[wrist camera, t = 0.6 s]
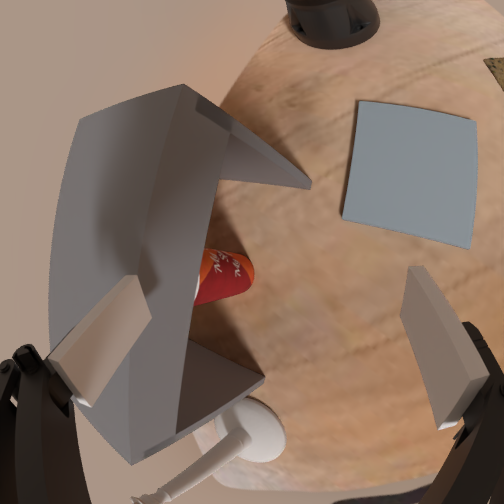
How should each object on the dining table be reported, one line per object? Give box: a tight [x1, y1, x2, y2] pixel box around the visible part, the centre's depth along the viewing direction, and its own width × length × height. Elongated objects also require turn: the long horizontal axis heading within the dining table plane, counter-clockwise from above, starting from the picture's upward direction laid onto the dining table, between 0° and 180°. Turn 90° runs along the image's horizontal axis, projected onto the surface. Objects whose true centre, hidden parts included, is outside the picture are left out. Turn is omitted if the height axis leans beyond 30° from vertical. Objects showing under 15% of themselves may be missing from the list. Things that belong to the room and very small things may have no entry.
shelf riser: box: [49, 84, 312, 465], centre depth 29 cm, size 28×16×24 cm, turn 166°
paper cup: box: [193, 248, 254, 306], centre depth 33 cm, size 8×8×14 cm
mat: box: [342, 101, 478, 249], centre depth 27 cm, size 16×16×1 cm
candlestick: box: [130, 397, 286, 504], centre depth 24 cm, size 13×13×30 cm
